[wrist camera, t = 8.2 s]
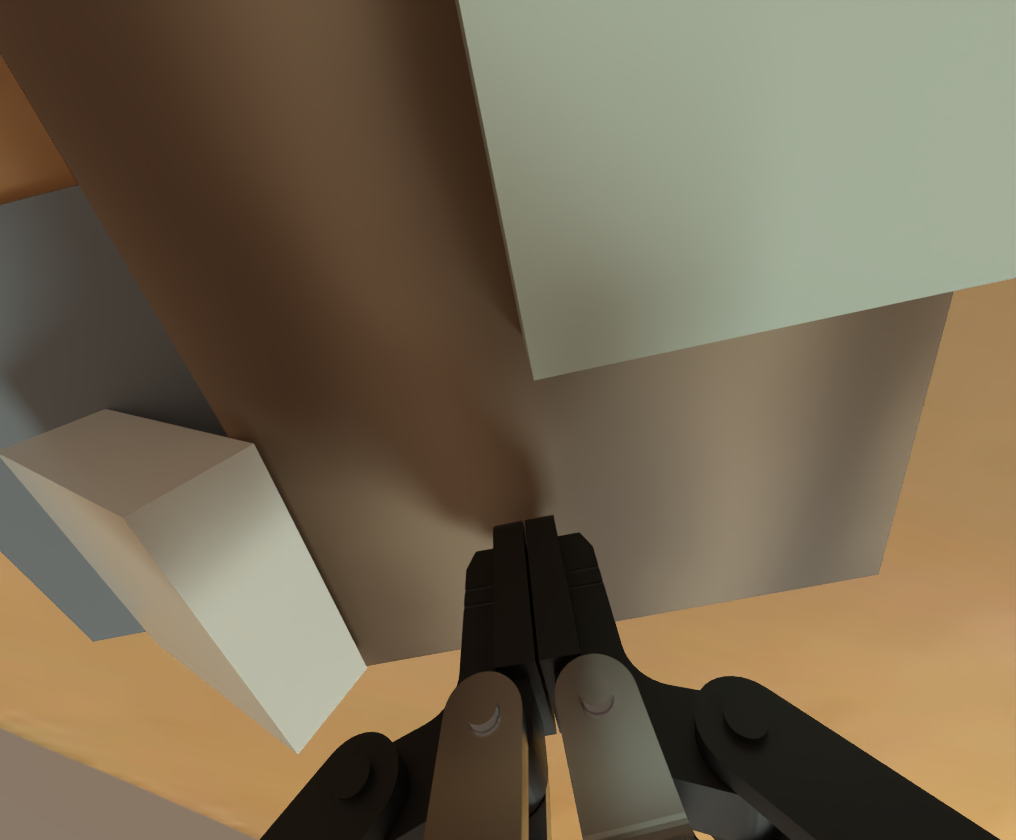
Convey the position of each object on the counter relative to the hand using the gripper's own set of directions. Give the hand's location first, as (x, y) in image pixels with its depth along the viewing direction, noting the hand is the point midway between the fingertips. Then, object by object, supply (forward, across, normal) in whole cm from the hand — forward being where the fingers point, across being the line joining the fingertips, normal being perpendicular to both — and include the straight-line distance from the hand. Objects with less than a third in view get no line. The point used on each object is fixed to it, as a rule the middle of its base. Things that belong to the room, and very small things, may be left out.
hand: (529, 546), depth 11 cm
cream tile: (+2, +9, 0) cm, 9 cm away
